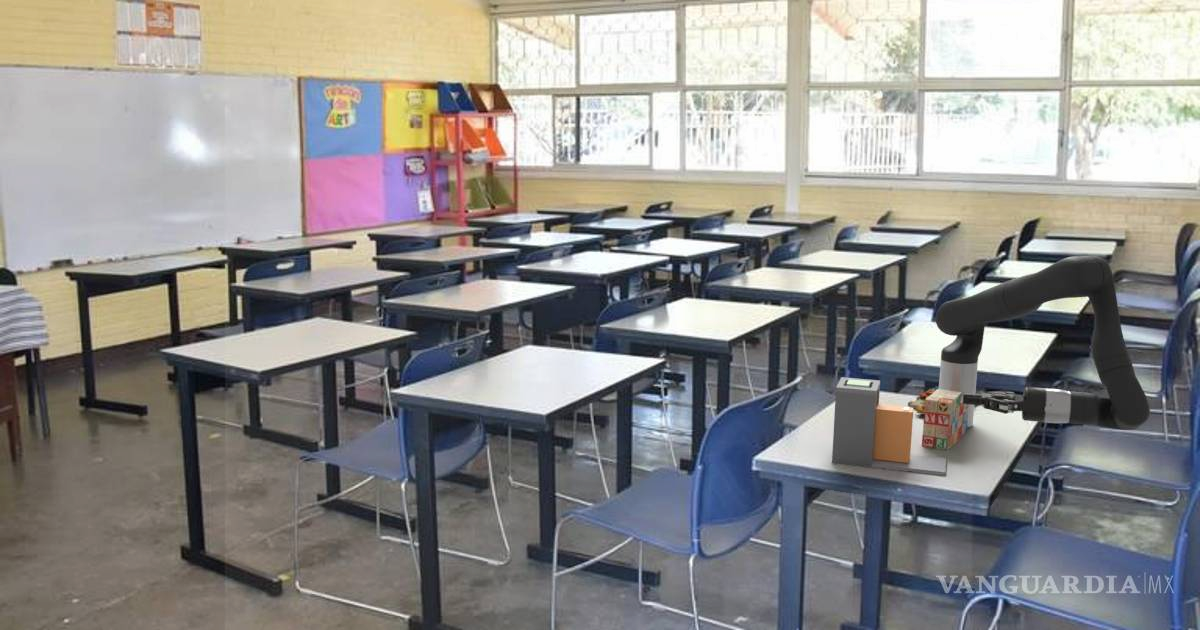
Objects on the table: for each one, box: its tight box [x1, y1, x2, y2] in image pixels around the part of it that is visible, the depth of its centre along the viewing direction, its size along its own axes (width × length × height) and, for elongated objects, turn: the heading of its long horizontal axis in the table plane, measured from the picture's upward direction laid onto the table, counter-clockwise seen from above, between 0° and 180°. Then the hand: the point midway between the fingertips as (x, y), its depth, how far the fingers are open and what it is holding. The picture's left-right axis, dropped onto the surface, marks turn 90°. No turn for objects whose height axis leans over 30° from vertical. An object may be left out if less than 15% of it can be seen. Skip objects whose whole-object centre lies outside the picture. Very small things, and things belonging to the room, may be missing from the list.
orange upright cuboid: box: [873, 403, 914, 463], centre depth 239 cm, size 4×8×12 cm, turn 71°
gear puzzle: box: [907, 386, 981, 415], centre depth 291 cm, size 31×16×4 cm, turn 144°
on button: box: [846, 379, 871, 388], centre depth 240 cm, size 5×5×5 cm
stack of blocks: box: [921, 389, 968, 451], centre depth 260 cm, size 21×6×12 cm, turn 148°
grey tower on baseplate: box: [831, 376, 947, 476], centre depth 239 cm, size 11×25×18 cm, turn 71°
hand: (963, 398), depth 233 cm, fingers closed
